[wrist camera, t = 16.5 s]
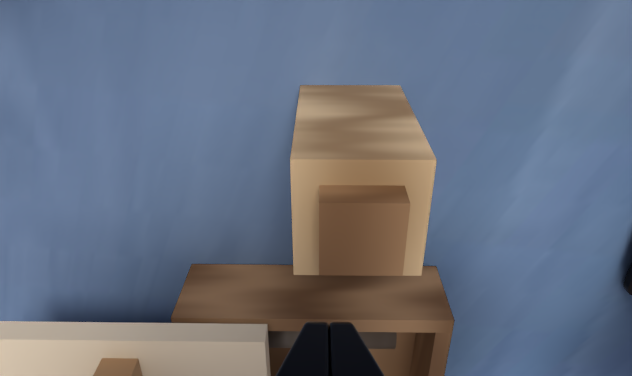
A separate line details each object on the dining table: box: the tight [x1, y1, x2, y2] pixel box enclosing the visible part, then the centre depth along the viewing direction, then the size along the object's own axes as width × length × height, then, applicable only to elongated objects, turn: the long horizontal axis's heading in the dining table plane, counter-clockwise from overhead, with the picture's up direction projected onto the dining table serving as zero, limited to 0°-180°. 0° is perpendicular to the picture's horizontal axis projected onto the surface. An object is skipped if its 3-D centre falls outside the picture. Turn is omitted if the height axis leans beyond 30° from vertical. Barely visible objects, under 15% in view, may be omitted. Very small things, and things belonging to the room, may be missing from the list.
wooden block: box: [290, 85, 437, 276], centre depth 17 cm, size 4×4×8 cm
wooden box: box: [171, 264, 454, 376], centre depth 24 cm, size 12×10×4 cm
